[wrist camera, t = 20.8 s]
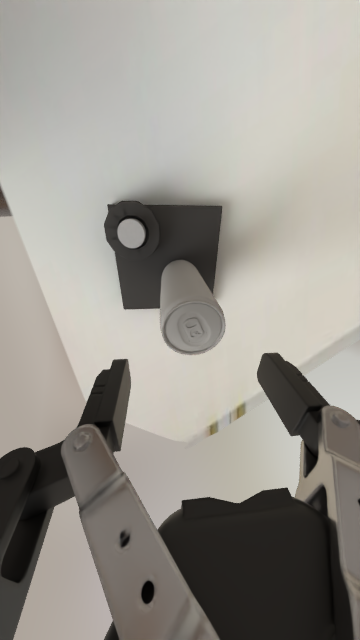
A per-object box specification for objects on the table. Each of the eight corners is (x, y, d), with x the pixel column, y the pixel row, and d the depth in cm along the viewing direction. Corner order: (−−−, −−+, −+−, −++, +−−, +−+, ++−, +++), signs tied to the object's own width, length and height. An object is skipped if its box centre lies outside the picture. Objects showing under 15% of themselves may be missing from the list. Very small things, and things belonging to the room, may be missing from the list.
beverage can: (170, 301, 25) (176, 364, 15) (153, 268, 23) (146, 316, 12) (204, 286, 24) (235, 342, 14) (190, 251, 22) (215, 287, 12)
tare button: (122, 246, 20) (119, 248, 19) (118, 218, 19) (115, 218, 17) (146, 245, 20) (145, 248, 19) (144, 218, 19) (143, 219, 17)
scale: (123, 305, 26) (119, 315, 24) (107, 202, 20) (99, 200, 17) (209, 302, 27) (214, 312, 25) (219, 203, 21) (227, 202, 18)
